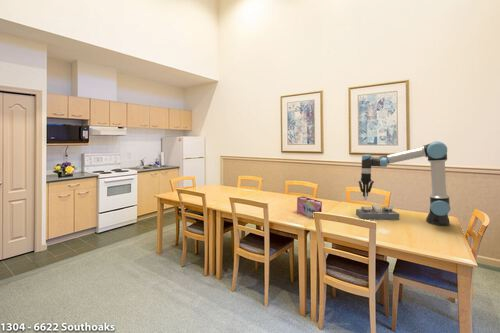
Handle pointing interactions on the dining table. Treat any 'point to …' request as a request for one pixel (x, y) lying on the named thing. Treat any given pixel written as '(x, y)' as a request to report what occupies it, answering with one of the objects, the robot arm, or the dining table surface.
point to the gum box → (308, 206)
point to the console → (377, 214)
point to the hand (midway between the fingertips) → (365, 200)
